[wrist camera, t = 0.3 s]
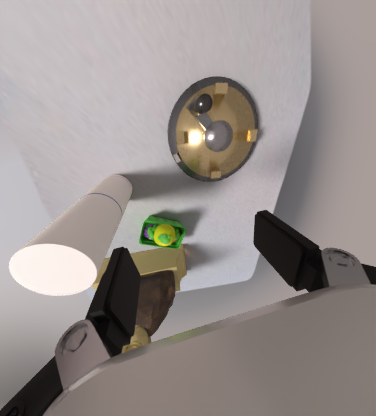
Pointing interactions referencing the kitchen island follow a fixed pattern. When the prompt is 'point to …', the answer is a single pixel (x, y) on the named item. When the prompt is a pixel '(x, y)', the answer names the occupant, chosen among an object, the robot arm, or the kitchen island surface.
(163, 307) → the decorative clock
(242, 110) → the gold dial with handle
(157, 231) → the fruit basket
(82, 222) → the cylindrical container
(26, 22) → the kitchen island surface
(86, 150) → the kitchen island surface
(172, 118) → the cap plate
